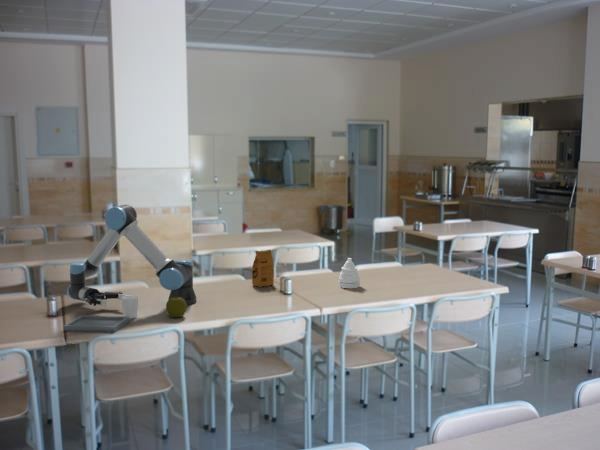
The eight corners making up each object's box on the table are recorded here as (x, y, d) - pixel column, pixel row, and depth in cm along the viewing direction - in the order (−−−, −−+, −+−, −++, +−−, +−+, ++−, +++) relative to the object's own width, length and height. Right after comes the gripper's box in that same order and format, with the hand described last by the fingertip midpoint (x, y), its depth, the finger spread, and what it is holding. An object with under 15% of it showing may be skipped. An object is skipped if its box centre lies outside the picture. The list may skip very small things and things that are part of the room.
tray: (129, 321, 294) (129, 316, 293) (114, 332, 276) (114, 327, 276) (81, 320, 296) (81, 315, 296) (63, 331, 278) (63, 325, 278)
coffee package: (250, 285, 375) (249, 250, 373) (267, 283, 382) (267, 248, 379) (257, 288, 367) (257, 252, 364) (275, 285, 373) (275, 250, 371)
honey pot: (360, 289, 365) (360, 259, 362) (339, 289, 365) (339, 259, 363) (358, 284, 377) (359, 256, 375) (338, 284, 377) (338, 255, 375)
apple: (168, 320, 296) (167, 298, 295) (164, 315, 305) (164, 294, 304) (188, 318, 300) (188, 296, 299) (184, 313, 309) (183, 292, 308)
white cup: (124, 314, 306) (123, 295, 305) (139, 314, 307) (139, 295, 306) (120, 319, 299) (120, 299, 297) (137, 318, 299) (136, 298, 298)
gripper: (109, 297, 330) (136, 303, 318) (69, 306, 309) (96, 313, 298) (109, 283, 329) (135, 289, 317) (68, 292, 308) (95, 298, 297)
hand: (116, 300), depth 307 cm, fingers open, 13 cm apart
